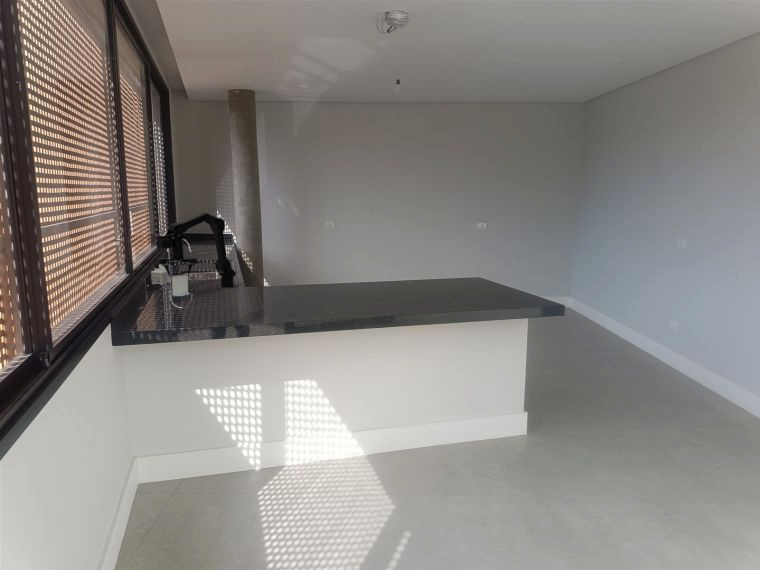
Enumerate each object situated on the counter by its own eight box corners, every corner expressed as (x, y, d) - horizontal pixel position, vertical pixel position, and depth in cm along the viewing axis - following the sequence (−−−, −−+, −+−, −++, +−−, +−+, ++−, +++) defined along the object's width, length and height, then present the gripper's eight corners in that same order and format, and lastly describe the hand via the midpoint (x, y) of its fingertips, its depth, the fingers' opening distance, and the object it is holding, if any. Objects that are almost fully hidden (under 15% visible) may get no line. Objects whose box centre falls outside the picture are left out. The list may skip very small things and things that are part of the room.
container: (151, 284, 309) (149, 262, 307) (160, 282, 317) (159, 260, 314) (162, 285, 307) (161, 263, 305) (171, 282, 314) (169, 261, 312)
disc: (190, 291, 287) (190, 291, 287) (190, 295, 278) (190, 295, 278) (171, 293, 284) (171, 292, 284) (170, 296, 275) (170, 296, 275)
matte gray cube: (188, 291, 290) (187, 275, 289) (188, 293, 283) (187, 277, 281) (173, 291, 287) (172, 275, 286) (172, 294, 280) (171, 277, 279)
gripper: (196, 245, 287) (197, 273, 290) (159, 246, 281) (161, 275, 284) (196, 247, 276) (197, 277, 279) (157, 248, 271) (159, 278, 273)
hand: (179, 276), depth 279 cm, fingers open, 9 cm apart
